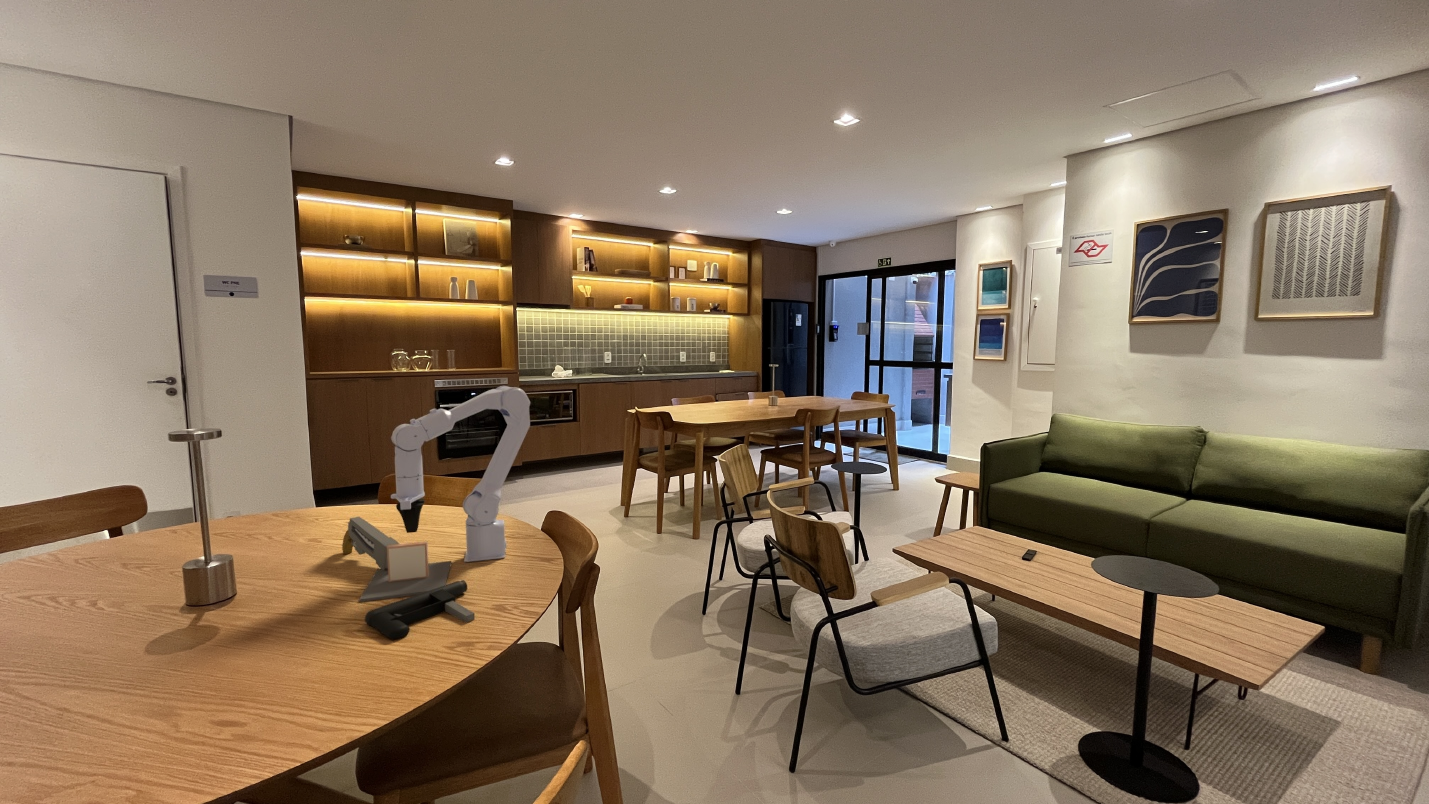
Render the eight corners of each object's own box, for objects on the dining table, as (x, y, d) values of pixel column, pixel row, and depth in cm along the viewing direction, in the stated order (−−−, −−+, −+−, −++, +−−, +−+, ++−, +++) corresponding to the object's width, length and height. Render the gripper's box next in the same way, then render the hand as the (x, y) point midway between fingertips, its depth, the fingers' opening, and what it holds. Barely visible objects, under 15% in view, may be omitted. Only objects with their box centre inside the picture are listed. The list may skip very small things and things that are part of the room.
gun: (382, 604, 139) (392, 550, 135) (335, 550, 151) (343, 499, 147) (395, 599, 141) (405, 547, 137) (348, 546, 154) (356, 497, 150)
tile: (429, 575, 135) (427, 541, 134) (427, 577, 133) (426, 543, 132) (389, 579, 132) (388, 545, 131) (388, 582, 130) (386, 547, 130)
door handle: (501, 598, 118) (457, 575, 128) (400, 638, 102) (359, 608, 112) (501, 614, 119) (458, 590, 128) (400, 655, 103) (359, 625, 112)
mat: (451, 563, 144) (451, 560, 144) (443, 591, 127) (443, 589, 127) (377, 571, 139) (377, 568, 139) (359, 602, 122) (359, 599, 122)
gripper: (395, 470, 143) (398, 524, 144) (383, 483, 129) (387, 543, 130) (427, 468, 145) (430, 521, 146) (419, 480, 131) (422, 539, 133)
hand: (412, 531), depth 139 cm, fingers closed
